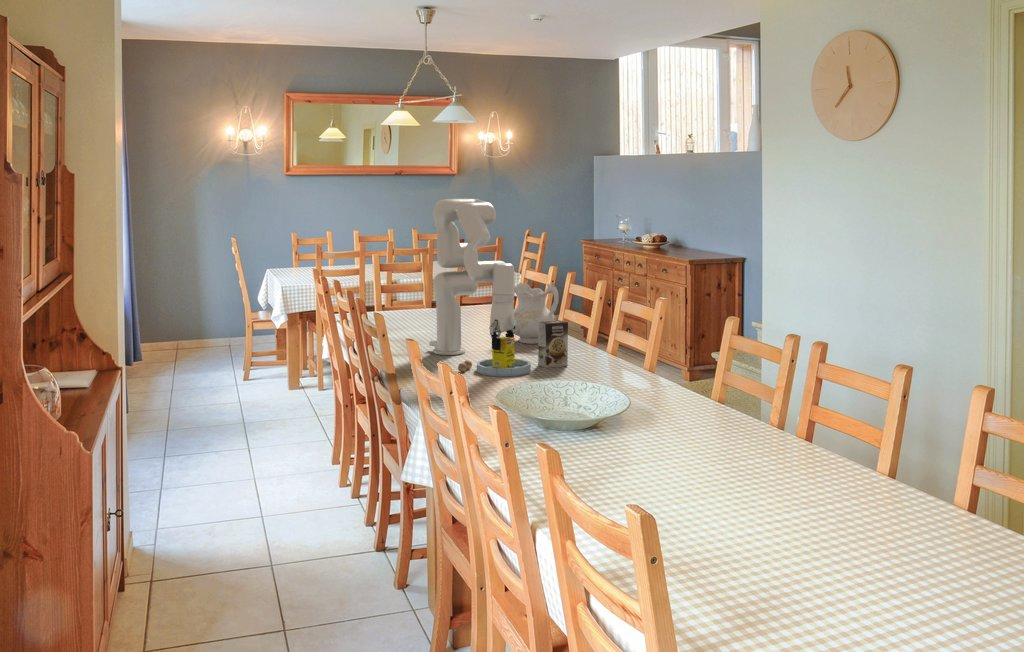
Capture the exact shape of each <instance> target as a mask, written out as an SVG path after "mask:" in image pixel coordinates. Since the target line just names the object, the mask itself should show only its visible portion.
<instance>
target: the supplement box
mask: <svg viewBox="0 0 1024 652" xmlns="http://www.w3.org/2000/svg"><path fill="white" fill-rule="evenodd" d="M499 338H500V339H501V348H500V350H494V349H492V348H491V349H492V352H491V353H492V355H491V356H492V357H491V359H492V368H515V359H516V357H515V355H516V354H515V349H516V348H515V342H516V339H515V337H514V338H511V337H505V336H500V337H499Z"/></svg>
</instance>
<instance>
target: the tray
mask: <svg viewBox="0 0 1024 652" xmlns="http://www.w3.org/2000/svg"><path fill="white" fill-rule="evenodd" d="M531 365H532V363H531V361H529V360H526V359H522V358H521V359H520V358H515V368H492V358H488V359H486V358H485V359H481V360H480V361H479V360H478V361H477V362H476V373H478V374H479V375H482V376H488V377H495V378H496V377H497V378H505V377H507V378H509V377H519V376H526V375H528V374H530V373H531V370H532V369H531V367H532V366H531Z"/></svg>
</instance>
